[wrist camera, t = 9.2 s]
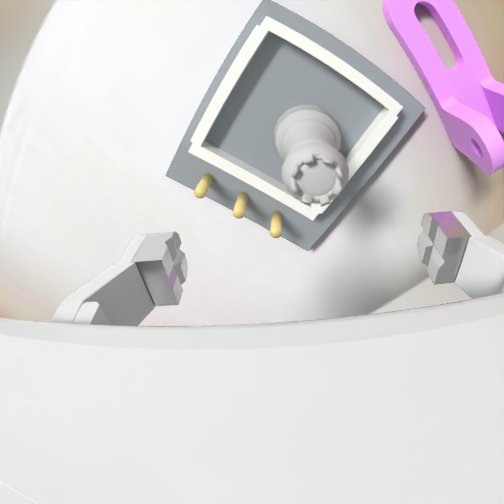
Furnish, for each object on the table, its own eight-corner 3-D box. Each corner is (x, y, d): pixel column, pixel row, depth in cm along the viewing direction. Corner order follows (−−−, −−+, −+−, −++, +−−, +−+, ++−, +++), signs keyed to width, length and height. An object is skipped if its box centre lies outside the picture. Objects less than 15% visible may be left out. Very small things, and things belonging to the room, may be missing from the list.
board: (307, 244, 27) (309, 270, 24) (169, 170, 24) (153, 190, 21) (420, 105, 18) (440, 116, 15) (265, -1, 15) (261, -10, 12)
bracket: (498, 117, 17) (551, 148, 12) (452, 145, 20) (497, 184, 14) (423, -29, 12) (471, -46, 6) (366, -4, 14) (400, -21, 9)
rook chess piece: (267, 109, 19) (257, 144, 13) (333, 98, 18) (360, 129, 12) (281, 168, 22) (278, 230, 15) (342, 159, 21) (368, 217, 14)
